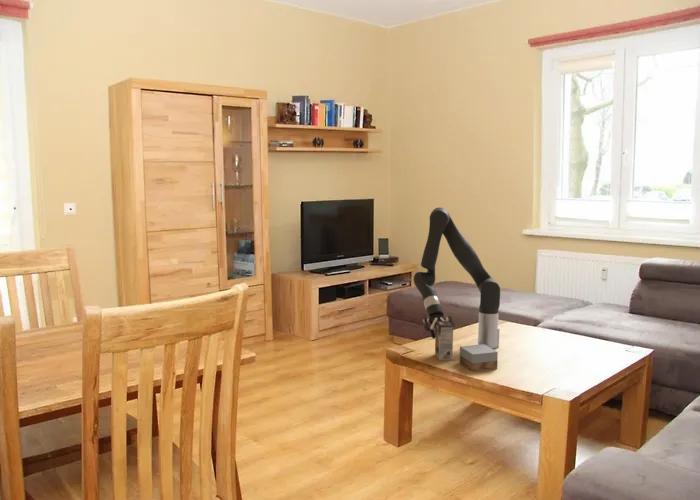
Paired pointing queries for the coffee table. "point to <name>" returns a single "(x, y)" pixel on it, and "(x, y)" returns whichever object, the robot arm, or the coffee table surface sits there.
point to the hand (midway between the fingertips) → (442, 337)
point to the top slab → (478, 353)
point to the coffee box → (444, 340)
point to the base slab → (478, 365)
